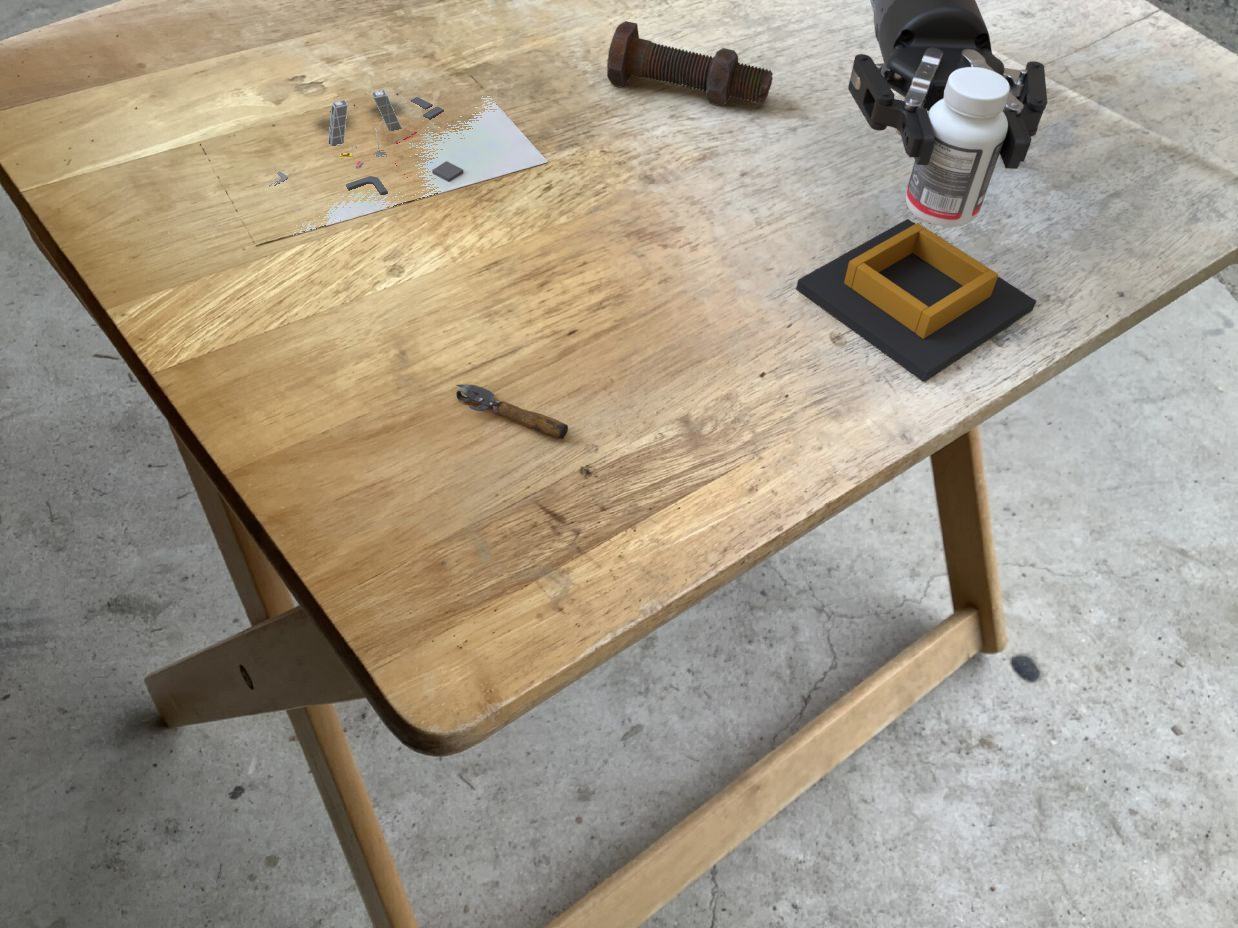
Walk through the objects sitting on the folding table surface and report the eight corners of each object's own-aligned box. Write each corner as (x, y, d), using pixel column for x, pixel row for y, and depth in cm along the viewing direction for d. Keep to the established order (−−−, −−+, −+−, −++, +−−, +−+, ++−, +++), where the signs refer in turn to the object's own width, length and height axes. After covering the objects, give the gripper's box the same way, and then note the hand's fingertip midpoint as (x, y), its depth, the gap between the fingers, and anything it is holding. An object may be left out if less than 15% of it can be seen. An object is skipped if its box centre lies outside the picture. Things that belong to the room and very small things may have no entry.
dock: (1033, 310, 84) (1046, 278, 82) (924, 382, 79) (935, 350, 76) (904, 228, 91) (914, 196, 88) (795, 289, 85) (802, 256, 83)
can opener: (570, 433, 74) (570, 421, 73) (550, 455, 73) (550, 443, 72) (463, 381, 77) (462, 369, 76) (443, 401, 76) (441, 389, 75)
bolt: (760, 128, 103) (610, 92, 105) (775, 81, 104) (625, 47, 106) (762, 95, 98) (603, 58, 100) (778, 46, 98) (620, 10, 101)
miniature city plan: (255, 246, 86) (244, 207, 83) (198, 143, 95) (187, 104, 93) (548, 162, 95) (547, 124, 92) (471, 75, 104) (468, 38, 101)
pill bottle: (945, 176, 81) (984, 53, 73) (994, 216, 78) (1039, 93, 70) (888, 196, 79) (921, 72, 72) (936, 238, 76) (975, 113, 69)
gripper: (843, -26, 80) (876, 100, 69) (1037, -18, 80) (1100, 109, 69) (825, 69, 86) (852, 199, 75) (1006, 76, 86) (1059, 206, 75)
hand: (971, 155), depth 72 cm, fingers closed on pill bottle, 5 cm apart
